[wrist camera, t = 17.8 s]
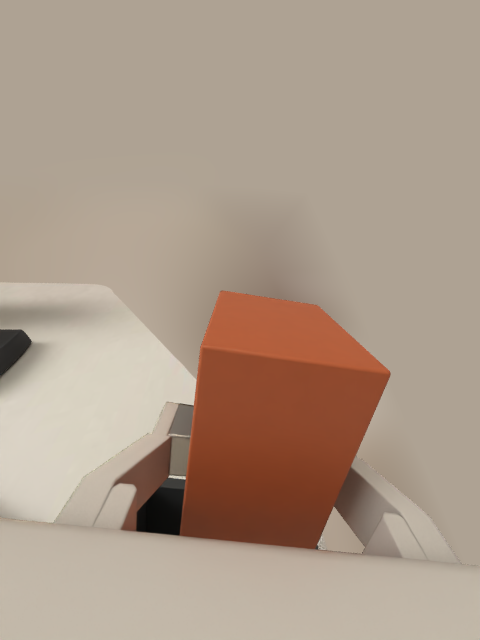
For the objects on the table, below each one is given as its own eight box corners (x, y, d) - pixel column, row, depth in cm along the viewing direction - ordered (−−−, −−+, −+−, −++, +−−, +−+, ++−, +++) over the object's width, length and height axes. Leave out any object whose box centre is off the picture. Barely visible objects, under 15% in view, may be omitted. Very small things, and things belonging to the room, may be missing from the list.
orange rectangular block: (266, 491, 13) (318, 304, 10) (280, 632, 9) (393, 372, 5) (195, 483, 13) (220, 289, 9) (169, 623, 8) (200, 345, 5)
